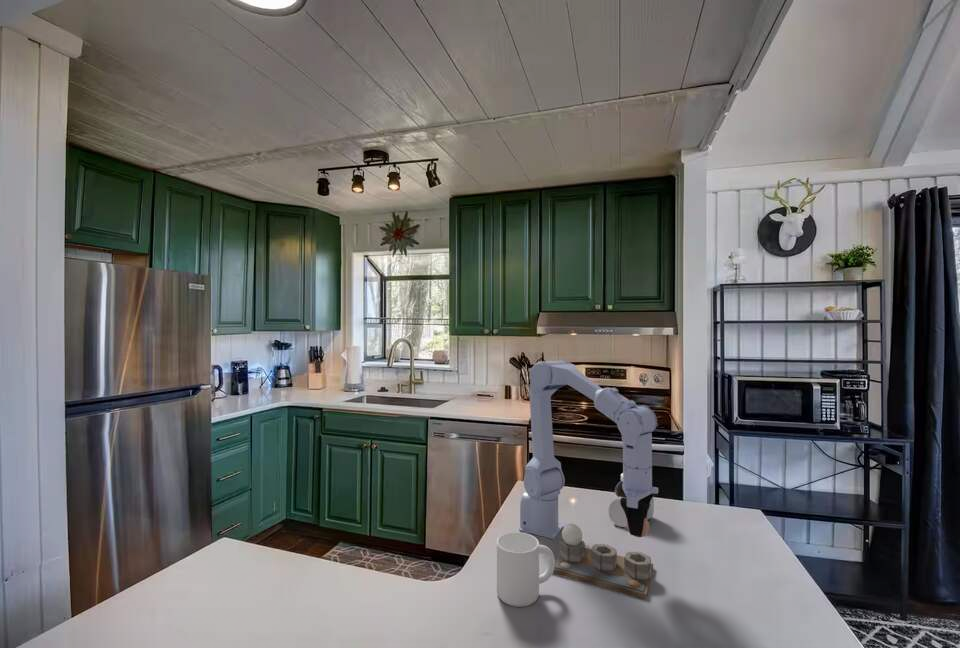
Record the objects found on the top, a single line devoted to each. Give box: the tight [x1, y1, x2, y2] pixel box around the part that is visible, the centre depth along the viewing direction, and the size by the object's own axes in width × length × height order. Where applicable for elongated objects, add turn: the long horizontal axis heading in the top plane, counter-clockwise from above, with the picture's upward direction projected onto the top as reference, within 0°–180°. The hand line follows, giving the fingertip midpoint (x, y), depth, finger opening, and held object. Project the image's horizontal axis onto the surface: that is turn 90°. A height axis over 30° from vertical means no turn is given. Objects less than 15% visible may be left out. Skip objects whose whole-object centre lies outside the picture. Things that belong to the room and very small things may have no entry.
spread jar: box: [608, 472, 655, 528], centre depth 116 cm, size 12×11×12 cm
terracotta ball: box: [626, 518, 650, 538], centre depth 90 cm, size 4×4×4 cm
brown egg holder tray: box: [552, 538, 654, 600], centre depth 92 cm, size 19×12×4 cm, turn 62°
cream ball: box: [561, 523, 583, 546], centre depth 96 cm, size 4×4×4 cm
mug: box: [496, 531, 556, 608], centre depth 84 cm, size 12×8×10 cm
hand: (637, 530), depth 90 cm, fingers closed on terracotta ball, 4 cm apart
